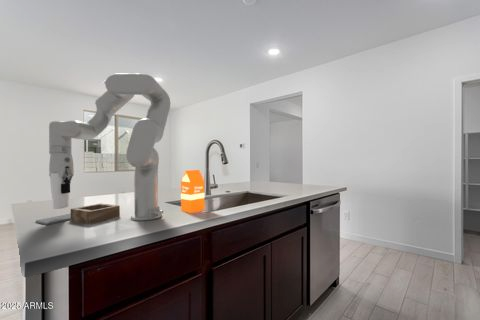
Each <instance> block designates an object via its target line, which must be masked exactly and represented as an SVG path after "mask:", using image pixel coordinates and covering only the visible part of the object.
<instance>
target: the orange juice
mask: <svg viewBox="0 0 480 320" xmlns="http://www.w3.org/2000/svg"><path fill="white" fill-rule="evenodd" d="M204 210H205V179H204V178H203V175H202V173H201V170H200V169H193V170H192V169H191V170H189V169H188V170H185V171H184V174H183V175H182V179H181V181H180V211H181V212H186V213H190V214H192V213H196V212H201V211H204Z"/></svg>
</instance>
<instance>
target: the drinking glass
mask: <svg viewBox="0 0 480 320" xmlns="http://www.w3.org/2000/svg"><path fill="white" fill-rule="evenodd" d="M64 176H67V175H66V174H65V175H64ZM49 178H50V179H49V181H50V189H51V191H50V192H51V199H52V200H51V201H52V208H53V209H54V210H58V209H59V210H60V209H61V210H62V209H65V208H68V207H69V199H70V193H64V194H62V193H61V184H62V181H61V177H59V175H58V173H51V176H49ZM65 179H66V178H64V180H65Z"/></svg>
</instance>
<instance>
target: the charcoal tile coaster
mask: <svg viewBox="0 0 480 320" xmlns="http://www.w3.org/2000/svg"><path fill="white" fill-rule="evenodd" d="M66 221H67V222H68V221H71V213H68V214H67V213H66V214H63V215H62V214H61V215H56V216H51V217H47V218H46V217H45V218H41V219H36V220H35V223H36V224H42V225H45V226H50V225H53V224H58V223H63V222H66Z"/></svg>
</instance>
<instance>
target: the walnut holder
mask: <svg viewBox="0 0 480 320" xmlns="http://www.w3.org/2000/svg"><path fill="white" fill-rule="evenodd" d="M120 210H121V209H120V205H117V204H109V203H96V204H91V205H90V204H89V205H85V206H80V207H74V208H70V214H71V220H70V222H75V223H79V224H85V225H93V224H97V223H100V222H104V221H108V220H113V219H117V218H120V216H121V215H120V214H121V213H120Z"/></svg>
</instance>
